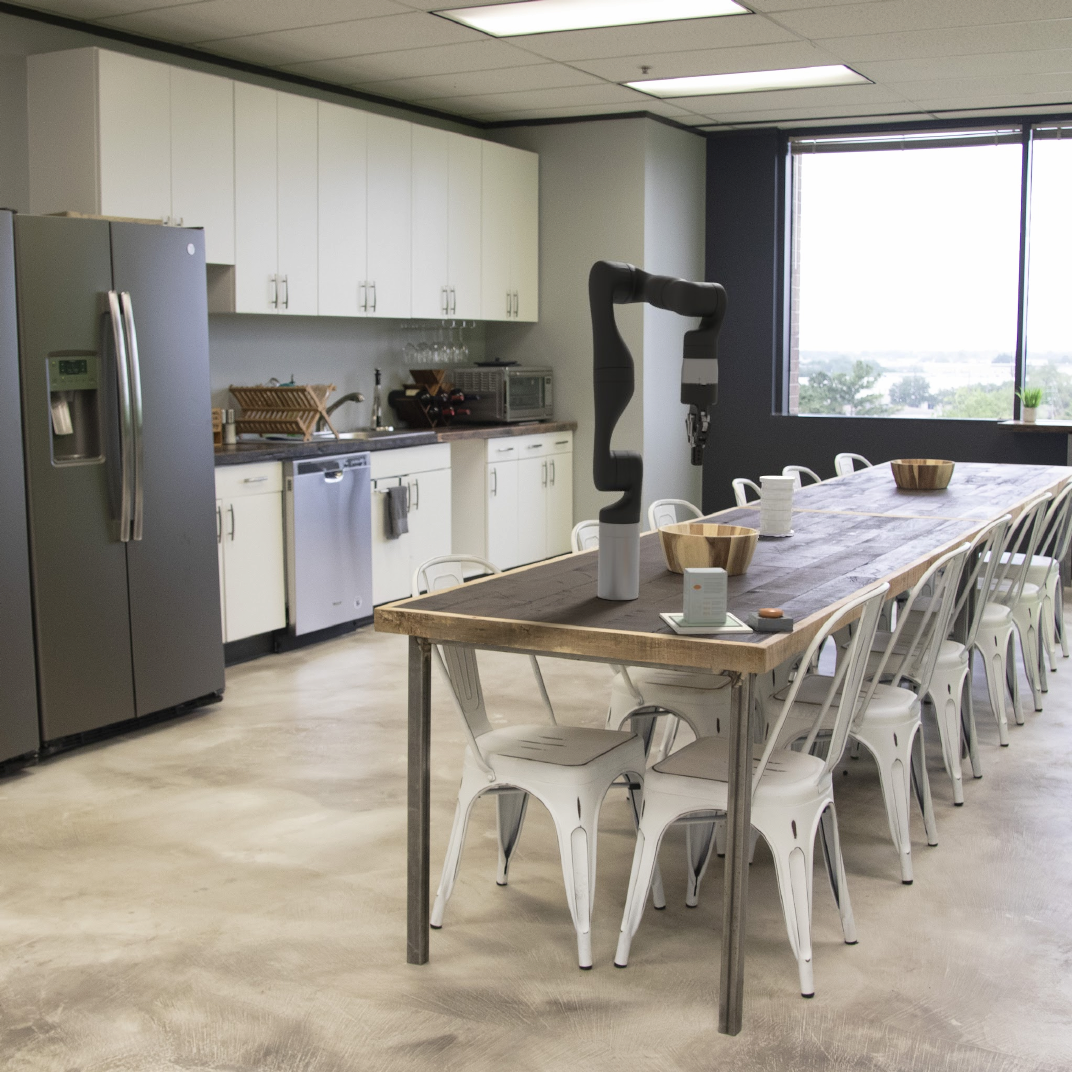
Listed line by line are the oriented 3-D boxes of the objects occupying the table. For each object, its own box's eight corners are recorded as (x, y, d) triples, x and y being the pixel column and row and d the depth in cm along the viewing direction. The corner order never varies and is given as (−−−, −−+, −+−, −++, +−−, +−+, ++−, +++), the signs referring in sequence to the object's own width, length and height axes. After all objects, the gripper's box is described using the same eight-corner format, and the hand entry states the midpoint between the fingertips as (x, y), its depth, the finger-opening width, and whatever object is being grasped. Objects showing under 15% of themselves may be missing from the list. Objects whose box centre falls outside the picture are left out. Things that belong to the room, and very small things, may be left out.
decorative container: (772, 531, 405) (774, 475, 403) (802, 535, 397) (804, 477, 394) (748, 534, 398) (750, 477, 396) (778, 538, 389) (780, 479, 387)
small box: (720, 617, 263) (722, 567, 261) (726, 623, 257) (728, 571, 256) (682, 618, 262) (683, 567, 261) (687, 623, 257) (689, 571, 255)
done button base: (748, 624, 260) (748, 612, 260) (782, 623, 261) (782, 611, 260) (757, 631, 253) (758, 619, 253) (793, 631, 254) (793, 618, 253)
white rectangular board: (659, 616, 267) (659, 612, 267) (729, 615, 269) (729, 611, 269) (678, 634, 250) (678, 630, 250) (752, 633, 251) (753, 629, 251)
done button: (755, 622, 259) (755, 608, 259) (778, 622, 259) (778, 608, 259) (762, 627, 254) (762, 612, 254) (785, 627, 255) (786, 612, 254)
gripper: (674, 380, 268) (672, 462, 270) (688, 381, 255) (686, 468, 257) (709, 380, 268) (706, 462, 271) (725, 382, 255) (722, 468, 258)
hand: (696, 465), depth 264 cm, fingers closed
